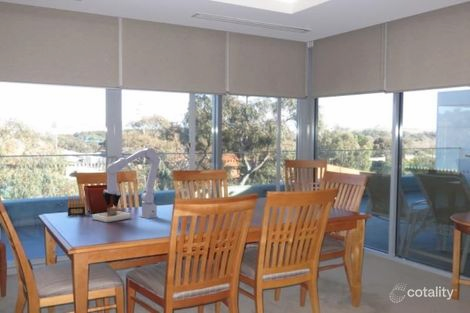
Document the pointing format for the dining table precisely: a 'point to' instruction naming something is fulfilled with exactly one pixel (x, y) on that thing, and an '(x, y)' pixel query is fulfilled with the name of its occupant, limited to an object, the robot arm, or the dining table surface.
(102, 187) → the plant pot
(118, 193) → the robot arm
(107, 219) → the tray
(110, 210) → the walnut block
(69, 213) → the ammunition clip
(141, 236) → the dining table surface
